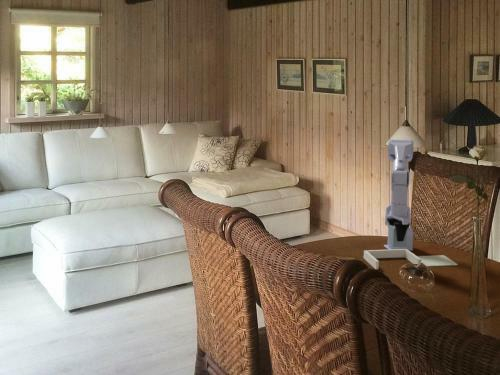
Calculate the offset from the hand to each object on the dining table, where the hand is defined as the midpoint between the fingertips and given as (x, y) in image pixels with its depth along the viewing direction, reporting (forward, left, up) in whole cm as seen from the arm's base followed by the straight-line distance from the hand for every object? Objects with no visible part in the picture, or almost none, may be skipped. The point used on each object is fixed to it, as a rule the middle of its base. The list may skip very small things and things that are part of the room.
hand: (397, 239), depth 223 cm
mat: (-16, -1, -9) cm, 18 cm away
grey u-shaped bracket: (+1, -1, -9) cm, 10 cm away
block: (0, 0, -2) cm, 2 cm away
